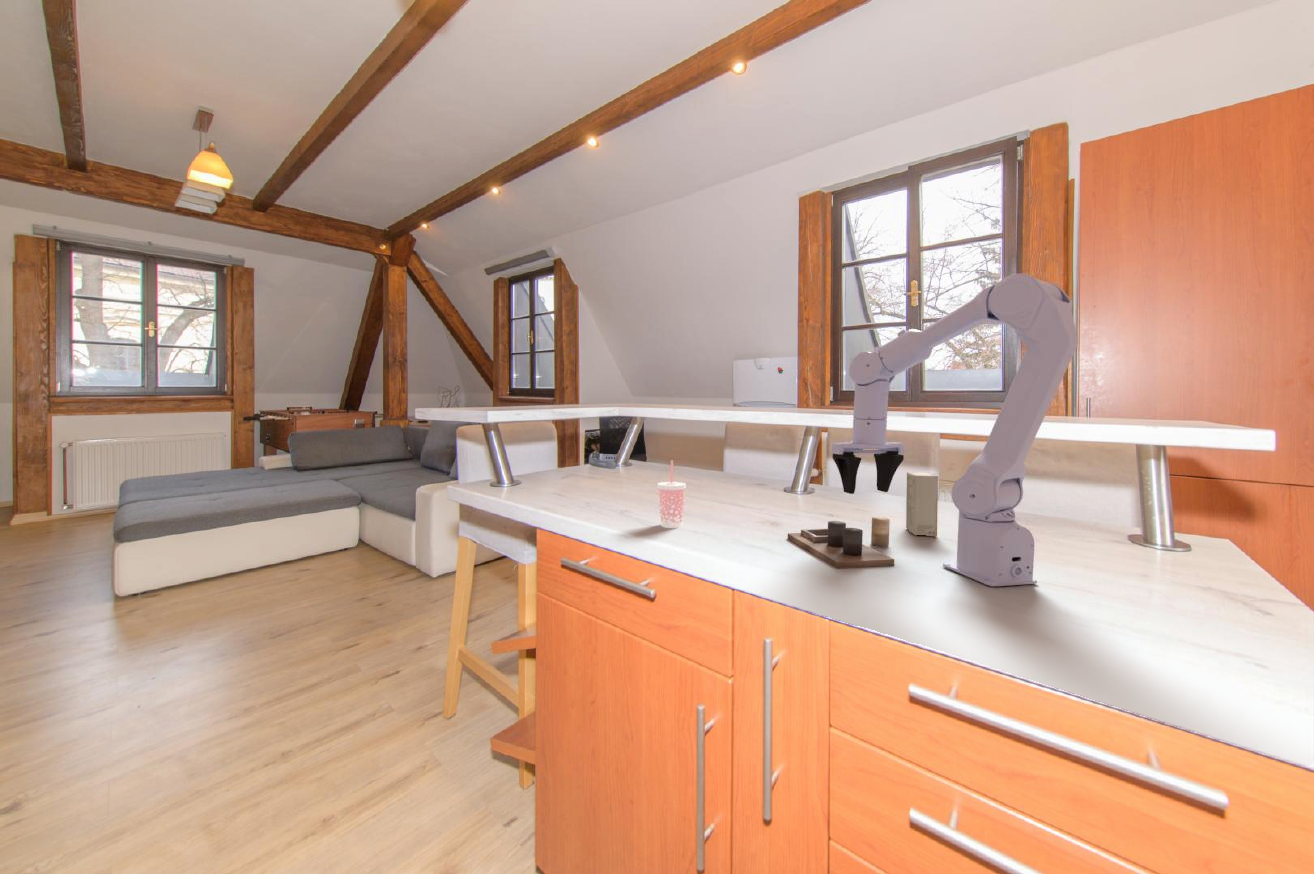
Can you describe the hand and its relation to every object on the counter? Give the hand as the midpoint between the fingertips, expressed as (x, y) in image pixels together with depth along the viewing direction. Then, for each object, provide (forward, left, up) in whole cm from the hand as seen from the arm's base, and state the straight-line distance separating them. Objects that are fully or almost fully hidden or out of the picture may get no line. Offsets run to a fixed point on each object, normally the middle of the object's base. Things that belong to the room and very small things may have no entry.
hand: (865, 492), depth 93 cm
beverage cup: (+19, +33, -10) cm, 39 cm away
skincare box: (+5, -16, -10) cm, 20 cm away
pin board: (-4, +8, -10) cm, 13 cm away
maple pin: (-2, -2, -10) cm, 10 cm away
